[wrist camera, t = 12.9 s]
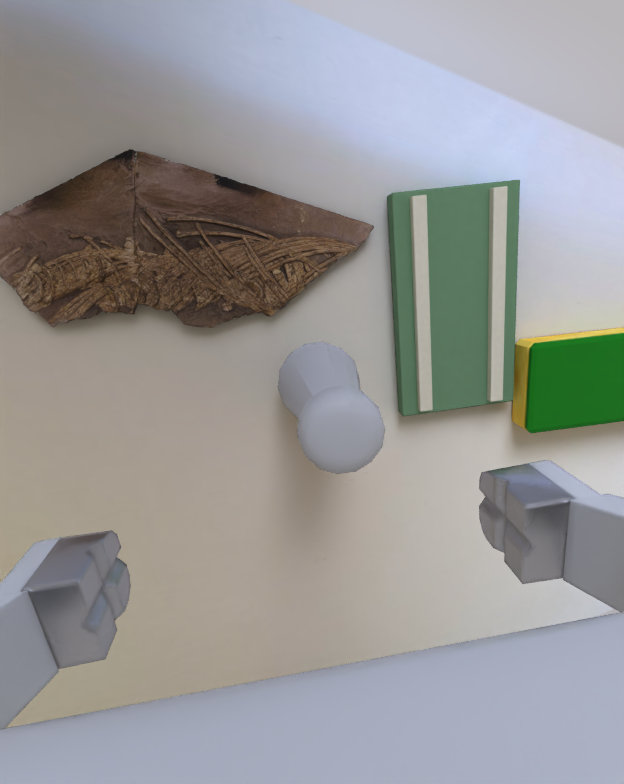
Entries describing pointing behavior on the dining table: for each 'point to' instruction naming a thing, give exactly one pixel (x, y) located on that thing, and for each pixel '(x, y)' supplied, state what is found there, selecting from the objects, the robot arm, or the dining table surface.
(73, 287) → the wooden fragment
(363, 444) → the salt shaker
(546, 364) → the dish sponge
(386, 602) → the dining table surface
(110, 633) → the robot arm
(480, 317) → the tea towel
